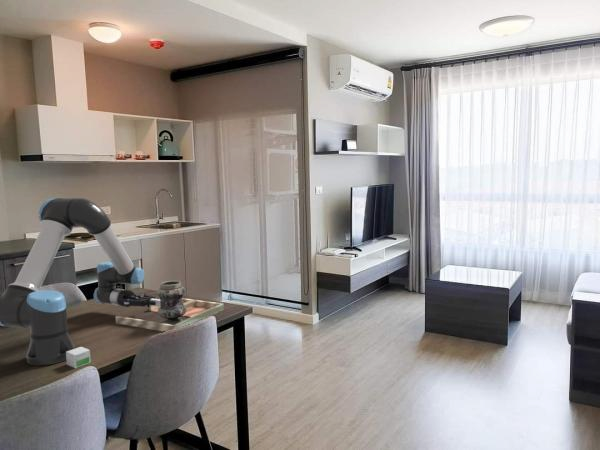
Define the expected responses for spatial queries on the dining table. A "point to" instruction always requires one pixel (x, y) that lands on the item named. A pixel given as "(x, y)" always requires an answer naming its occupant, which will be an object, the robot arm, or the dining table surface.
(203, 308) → the trap box
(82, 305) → the dining table surface
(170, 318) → the apothecary jar
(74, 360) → the small box
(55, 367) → the dining table surface
